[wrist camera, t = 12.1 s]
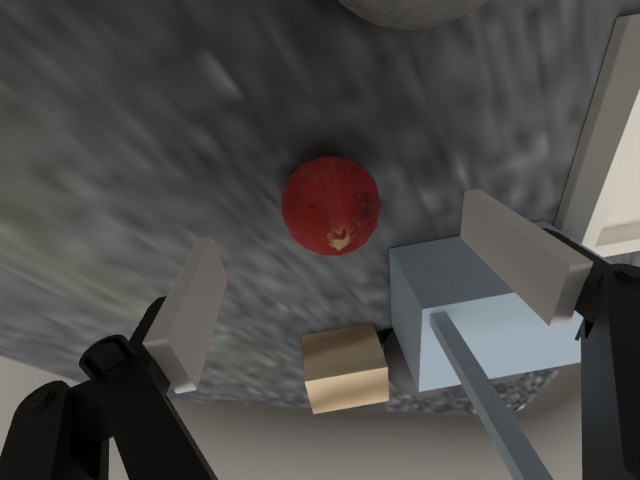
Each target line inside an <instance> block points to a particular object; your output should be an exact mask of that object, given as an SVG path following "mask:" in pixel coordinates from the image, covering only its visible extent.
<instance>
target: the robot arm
mask: <svg viewBox="0 0 640 480" xmlns="http://www.w3.org/2000/svg"><path fill="white" fill-rule="evenodd" d="M460 238H461V239H462V240H463V241H464V242H465V243H466V244H467V245H468V246H469V247H470V248H471V249H472V250H473V251H474V252H475V253H476V254H477V255H478V256H479V257H480V258H481V259H482V260H483V261H484V262H485V263H486V264H487V265H488V266H489V267H490V268H491V269H492V270H493V271H494V272H495V273H496V274H497V275H498V276H499V277H500V278H501V279H502V280H503V281H504V282H505V283H506V284H507V285H508V286H509V287H510V288H511V289H512V290H513V291H514V292H515V293H516V294H517V295H518V296H519V297H520V298H521V299H522V300H523V301H524V302H525V303H526V304H527V305H528V306H529V307H530V308H531V309H532V310H533V311H534V312H535V313H536V314H537V315H538V316H539V317H540V318H541V319H542V320H543V321H544V322H545V323H546V324H547V325H548V326H555V325H561V324H566V323H570V321H571V319H572V316H573V313H574V311H576V312H577V313H579V314H580V315H581V316H582V317H583V320H582V323H581V325H580V327H579V330H578V332H577V335H576V337H575V340H577V341H579V339H580V337H581V397H582V398H581V401H582V402H581V403H582V479H583V480H640V267H637V266H633V265H629V264H619V263H618V264H609V263H608V262H606V261H604V260H603V259H601V258H600V257H598V256H596V255H595V254H593V253H591V252H590V251H588V250H587V249H585V248H583V247H582V246H579V245H578V244H577V243H575V242H573V241H570V239H569V238H567V237H565V236H564V235H562V234H560V233H559V232H556V231H553V230H550V229H547V228H540V227H538V226H537V225H535V224H533V223H532V222H530V221H529V220H527V219H526V218H524V217H522V216H521V215H519V214H518V213H516V212H515V211H513V210H512V209H510V208H508V207H507V206H505V205H504V204H502V203H501V202H499V201H497V200H496V199H494V198H493V197H491V196H490V195H488V194H487V193H485V192H483V191H482V190H480V189H476V190H470V191H465V193H464V202H463V212H462V222H461V231H460ZM227 281H228V277H227V274H226V272H225V269H224V267H223V264H222V262H221V259H220V257H219V254H218V251H217V249H216V246H215V244H214V241H213V239H212V237H206V238H201V239H197V240H196V242H195V244H194V246H193V247H192V249H191V251H190V253H189V255H188V257H187V259H186V261H185V263H184V265H183V266H182V268H181V270H180V272H179V274H178V276H177V278H176V280H175V282H174V284H173V285H172V287H171V289H170V291H169V293H168V295H167V296H165V297H159V298H158V299H157V300H155V301H154V302H153V303H152V304H151V305H150V306H149V307H148V309H147V311H146V313H145V314H144V316H143V317H144V318H142V320H141V321H140V323H139V326H138V327H137V328H136V330H135V332H134V333H133V335H132V337H131V339H130V340H129V342H128V340H127V339H126V337H124V336H123V335H112V336H108V337H106V338H103V339H101V340H99V341H98V342H96V343H95V344H93V345H92V346H90V347H89V348H88V349H87V350H86V351H85V352H84V353H83V355H82V357H81V358H80V360H79V366H80V368H81V369H82V370H83V371H84V372H85V373H86V374H87V376H88V377H89V378H90V380H88V381H85V382H83V383H81V384H78V385H76V386H74V387H71V388H70V387H69V386H68V385H67V384H66V383H65V382H63V381H53V382H50V383H47V384H45V385H43V386H41V387H39V388H38V389H36V390H35V391H33V392H32V393H31V394H29V395H28V396H27V397H26V398H25V399H24V400H23V401H22V402H21V403H20V405H19V406H18V408H17V410H16V411H15V413H14V416H13V419H12V422H11V426H10V429H9V431H8V435H7V438H6V441H5V444H4V447H3V450H2V453H1V456H0V480H108V470H109V438H111V437H114V439H115V442H116V445H117V447H118V450H119V453H120V456H121V459H122V461H123V464H124V467H125V470H126V472H127V474H128V478H129V480H218V479H217V477H216V476H215V474H214V472H213V470H212V469H211V467H210V465H209V464H208V462H207V461H206V459H205V457H204V456H203V454H202V452H201V451H200V449H199V447H198V446H197V444H196V443H195V441H194V439H193V438H192V436H191V434H190V433H189V431H188V429H187V428H186V426H185V425H184V423H183V421H182V420H181V418H180V416H179V415H178V413H177V411H176V410H175V408H174V407H173V405H172V403H171V402H170V400H169V398H168V397H167V396H166V393H167V391H168V388H169V385H171V386H172V388H173V389H174V391H175V392H176V394H177V393H183V392H188V391H194V390H197V388H198V385H199V381H200V377H201V374H202V370H203V367H204V363H205V360H206V356H207V353H208V349H209V345H210V342H211V338H212V335H213V331H214V328H215V324H216V321H217V317H218V313H219V310H220V306H221V303H222V299H223V296H224V292H225V288H226V285H227Z"/></svg>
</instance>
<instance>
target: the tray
mask: <svg viewBox="0 0 640 480" xmlns="http://www.w3.org/2000/svg"><path fill="white" fill-rule="evenodd" d="M553 227H555V228H557V229H558V230H560V231H561V232H563V233H565V234H566V235H568V236H569V237H571V238H573V239H574V240H576V241H577V242H579V243H581V244H582V245H584V246H585V247H587V248H589V249H590V250H592V251H593V252H595V253H597V254H598V255H600V256H601V257H607V256H612V255H618V254H623V253H629V252H634V251H640V13H639V14H633V15H628V16H622V17H617V19H616V22H615V25H614V29H613V32H612V35H611V38H610V42H609V45H608V48H607V52H606V55H605V58H604V62H603V65H602V68H601V71H600V75H599V78H598V81H597V85H596V88H595V91H594V94H593V98H592V101H591V104H590V108H589V111H588V114H587V117H586V121H585V124H584V127H583V131H582V134H581V137H580V140H579V144H578V147H577V150H576V154H575V157H574V160H573V163H572V167H571V170H570V173H569V177H568V180H567V183H566V186H565V190H564V193H563V196H562V200H561V203H560V206H559V210H558V213H557V216H556V219H555V223H554V226H553Z"/></svg>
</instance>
